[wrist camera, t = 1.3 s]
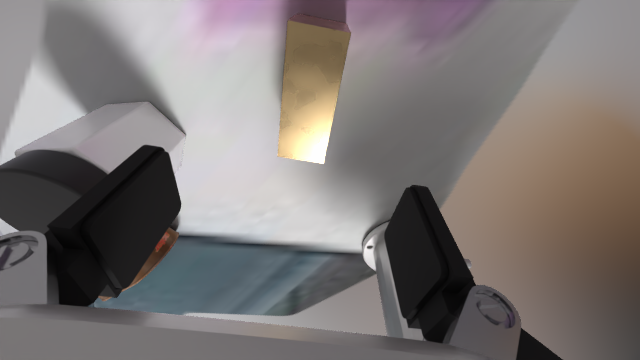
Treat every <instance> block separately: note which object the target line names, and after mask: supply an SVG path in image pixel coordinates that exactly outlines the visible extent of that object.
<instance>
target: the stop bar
mask: <svg viewBox="0 0 640 360" xmlns="http://www.w3.org/2000/svg"><path fill="white" fill-rule="evenodd" d="M350 36H351V32H350V30H349V28H348V26H347V24H346V23H342V22H337V21H332V20H328V19H323V18H318V17H313V16H308V15H303V14H298V13H297V14H296V15H294V16H293V17H292V18H290V19H289V20H288V22H287V36H286V49H285V63H284V76H283V90H282V103H281V117H280V130H279V144H278V157H284V158H291V159H297V160H304V161H310V162H316V163H324V159H325V154H326V149H327V144H328V140H329V135H330V130H331V125H332V121H333V116H334V111H335V107H336V102H337V97H338V92H339V88H340V83H341V78H342V73H343V69H344V64H345V59H346V54H347V50H348V45H349V40H350Z"/></svg>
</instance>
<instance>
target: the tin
mask: <svg viewBox="0 0 640 360" xmlns="http://www.w3.org/2000/svg"><path fill="white" fill-rule="evenodd" d="M178 236H179V233H178V232H175V231H174V230H173V229H171V228H170V227H169V228H168V229H167V231H166V232H165V234H164V235H163V237H162V238H161V240H160V241H159V243H158V244H157V246H156V247H155V249H154V250H153V252H152V253H151V255H150V256H149V258H148V259H147V261H146V262H145V264H144V265H143V267H142V268H141V270H140V271H139V273H138V274H137V276H136V277H135V279H134V280H133V282H132V283H131V284H130V286H129V287H128V288H130V287H132V286H134V285H135V284H137V283H138V282H140V281H141V280H142V279H143V278H144V277H146V276H147V275H148V274H149V273H150V272H151V271H152V270H153V269H154V268H155V267H156V266H157V265H158V264H159V263H160V262H161V260H162V259H163V258H164V257H165V256H166V254H167V253H168V252H169V251H170V249H171V248H172V247H173V245H174V244H175V242H176V240H177V238H178ZM128 288H126V289H128ZM126 289H123V290H122V291H121V292H123V291H124V290H126ZM98 298H100V299H102V301H106V300H108V299H110V298H112V297H104V296H98Z"/></svg>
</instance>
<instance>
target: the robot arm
mask: <svg viewBox="0 0 640 360" xmlns="http://www.w3.org/2000/svg"><path fill="white" fill-rule="evenodd" d="M180 209H181V200H180V196H179V192H178V188H177V184H176V180H175V176H174V172H173V167H172V163H171V159H170V155H169V153H168V152H166V151H165V150H164V148H162V147H159V146H152V145H143V146H141V147H140V148H139V149H138V150H137V151H135V152H134V153H133V154H132V155H131V156H129V157H128V158H127V159H126V160H125V161H123V162H122V163H121V164H120V165H119V166H117V167H116V168H115V169H114V170H113V171H112V172H110V173H109V174H108V175H107V176H106V177H104V178H103V179H102V180H101V181H100V182H98V183H97V184H96V185H95V186H94V187H92V188H91V189H90V190H89V191H88V192H87V193H85V194H84V195H83V196H82V197H81V198H79V199H78V200H77V201H76V202H75V203H73V204H72V205H71V206H70V207H69V208H67V209H66V210H65V211H64V212H63V213H62V214H60V215H59V216H58V217H57V218H56V219H54V220H53V221H52V222H51V223H50V224H48V225H47V227H48V228H49V230H48V231H47V232H46V233H45V234H44V235H43V234H42V233H40V232H36V231H19V232H14V233H9V234H6V235H3V236H0V360H562V359H561V358H560V357H558V356H557V355H556V354H554V353H553V352H552V351H551V350H549V349H548V348H547V347H545V346H544V345H543V344H541V343H540V342H539V341H538V340H536V339H535V338H534V337H532V336H531V335H530V334H528V333H527V332H526V331H524V330H523V329H522V328H521V319H520V316H519V314H518V312H517V310H516V308H515V307H514V305H513V304H512V303H511V302H510V301H509V300H508V299H507V298H506V297H505V296H504V295H503V294H501V293H500V292H499V291H497V290H495V289H493V288H491V287H488V286H485V285H476V284H475V283H474V280H473V276H472V274H471V272H470V270H469V269H470V268H471V261H470V260H469V259H464V258H463V256H462V254H461V252H460V250H459V249H458V246H457V244H456V242H455V241H454V238H453V236H452V234H451V233H450V230H449V228H448V226H447V225H446V223H445V220H444V218H443V216H442V214H441V212H440V210H439V208H438V206H437V204H436V202H435V200H434V198H433V196H432V194H431V192H430V191H429V189H428V187H424V186H418V185H412V186H411V187H410V188H406V189H405V191H404V193H403V195H402V197H401V199H400V201H399V203H398V205H397V207H396V209H395V211H394V214H393V216H392V218H391V220H390V221H389V222H386V223H384V224H382V225H380V226H378V227H377V228H375V229H374V230H373V231H371V232H370V233H369V234H368V236H367V237H366V238H365V240H364V242H363V246H362V252H363V258H364V260H365V262H366V264H367V265H368V266H369V267H371V268H372V269H374V270H375V271H376V273H377V279H378V285H379V291H380V297H381V303H382V309H383V315H384V320H385V327H386V333H387V336H381V335H370V334H362V333H352V332H343V331H333V330H323V329H314V328H304V327H294V326H285V325H274V324H264V323H254V322H245V321H235V320H224V319H214V318H204V317H194V316H184V315H173V314H162V313H152V312H141V311H131V310H120V309H108V308H95V307H94V302H95V300H96V299H97V298H98V296H104V297H114V298H117V297H118V296H119V294H120V293H121V291H122V290H123V289H126V288H128V287H129V286H130V284H131V283H132V282H133V280H134V279H135V277H136V276H137V274H138V273H139V271H140V270H141V268H142V267H143V265H144V264H145V262H146V261H147V259H148V258H149V256H150V255H151V253H152V252H153V250H154V249H155V247H156V246H157V244H158V243H159V241H160V240H161V238H162V237H163V235H164V234H165V232H166V231H167V229H168V228H169V226H170V225H171V224H172V222H173V221H174V219H175V218H176V216H177V215H178V213H179V211H180Z"/></svg>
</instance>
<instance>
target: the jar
mask: <svg viewBox="0 0 640 360" xmlns="http://www.w3.org/2000/svg"><path fill="white" fill-rule="evenodd" d="M185 139H186V135H185V134H184V133H183V132H182V131H180V130H179V129H178V128H177V127H176V126H175V125H174V124H173V123H172V122H171V121H169V120H168V119H167V118H166V117H165V116H164V115H163V114H162V113H161V112H160V111H158V110H157V109H156V108H155V107H154V106H153V105H152V104H151V103H150V102H134V103H119V104H106V105H104V106H102V107H100V108H98V109H96V110H94V111H92V112H90V113H88V114H86V115H84V116H82V117H81V118H79V119H77V120H75V121H73V122H71V123H69V124H67V125H65V126H63V127H61V128H59V129H57V130H55V131H53V132H51V133H49V134H47V135H45V136H43V137H41V138H39V139H37V140H35V141H33V142H31V143H30V144H28V145H26V146H24V147H22V148H20V149H18V150H16V151H15V156H16V158H14V159H12V160H10V161H8V162H6V163H4V164H2V165H0V218H1V219H2V220H4V221H5V222H6V223H8V224H9V225H11V226H12V227H14V228H15V229H17V230H19V231H36V232H40V233H42V234H43V235H44V234H45V233H46V232H47V231H48V230H49V228H48V227H47V225H48V224H50V223H51V222H52V221H53V220H54V219H56V218H57V217H58V216H59V215H60V214H62V213H63V212H64V211H65V210H66V209H67V208H69V207H70V206H71V205H72V204H73V203H75V202H76V201H77V200H78V199H79V198H81V197H82V196H83V195H84V194H85V193H87V192H88V191H89V190H90V189H91V188H92V187H94V186H95V185H96V184H97V183H98V182H100V181H101V180H102V179H103V178H104V177H106V176H107V175H108V174H109V173H110V172H112V171H113V170H114V169H115V168H116V167H117V166H119V165H120V164H121V163H122V162H123V161H125V160H126V159H127V158H128V157H129V156H131V155H132V154H133V153H134V152H135V151H137V150H138V149H139V148H140V147H141V146H143V145H152V146H159V147H162V148H164V150H165V151H166V152H168V153H169V155H170V159H171V163H172V167H173V172H174V174H175V173H176V172H177V171H178V169H179V168H180V167H181V164H182V158H183V152H184V145H185Z"/></svg>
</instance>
